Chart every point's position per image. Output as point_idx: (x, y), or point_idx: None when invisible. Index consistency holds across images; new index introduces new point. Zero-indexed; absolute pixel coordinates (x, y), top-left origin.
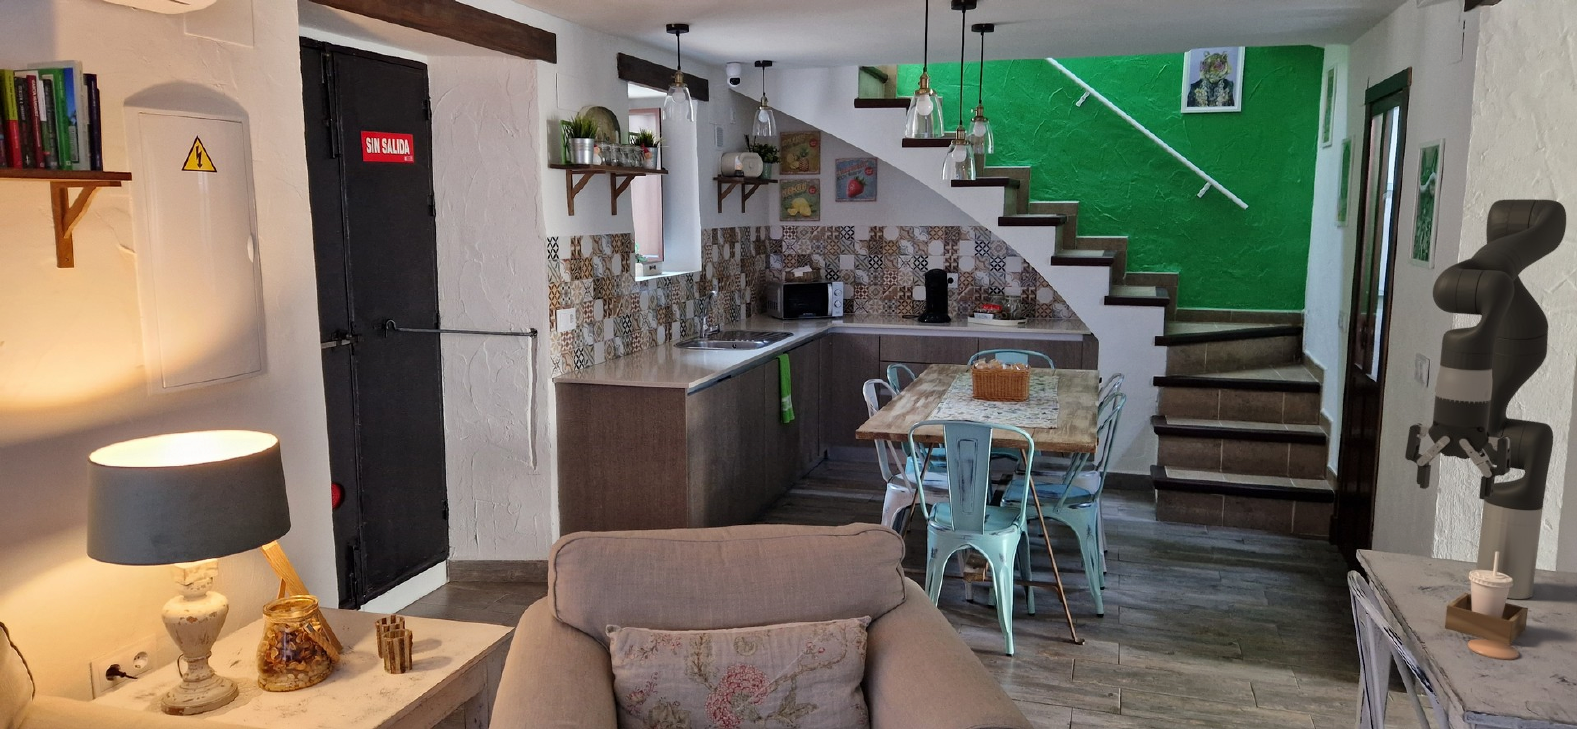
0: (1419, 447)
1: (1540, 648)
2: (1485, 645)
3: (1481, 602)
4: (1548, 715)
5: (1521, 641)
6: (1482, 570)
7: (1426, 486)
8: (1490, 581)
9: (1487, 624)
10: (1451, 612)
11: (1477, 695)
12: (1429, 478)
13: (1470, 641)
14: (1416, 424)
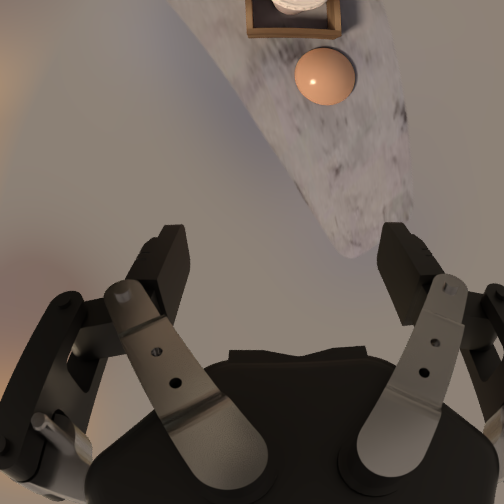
0: (64, 339)
1: (364, 23)
2: (315, 74)
3: (291, 10)
4: None
5: None
6: None
7: (186, 251)
8: (308, 7)
9: (307, 35)
10: (254, 34)
11: (344, 231)
12: (174, 241)
13: (296, 74)
14: (33, 491)
